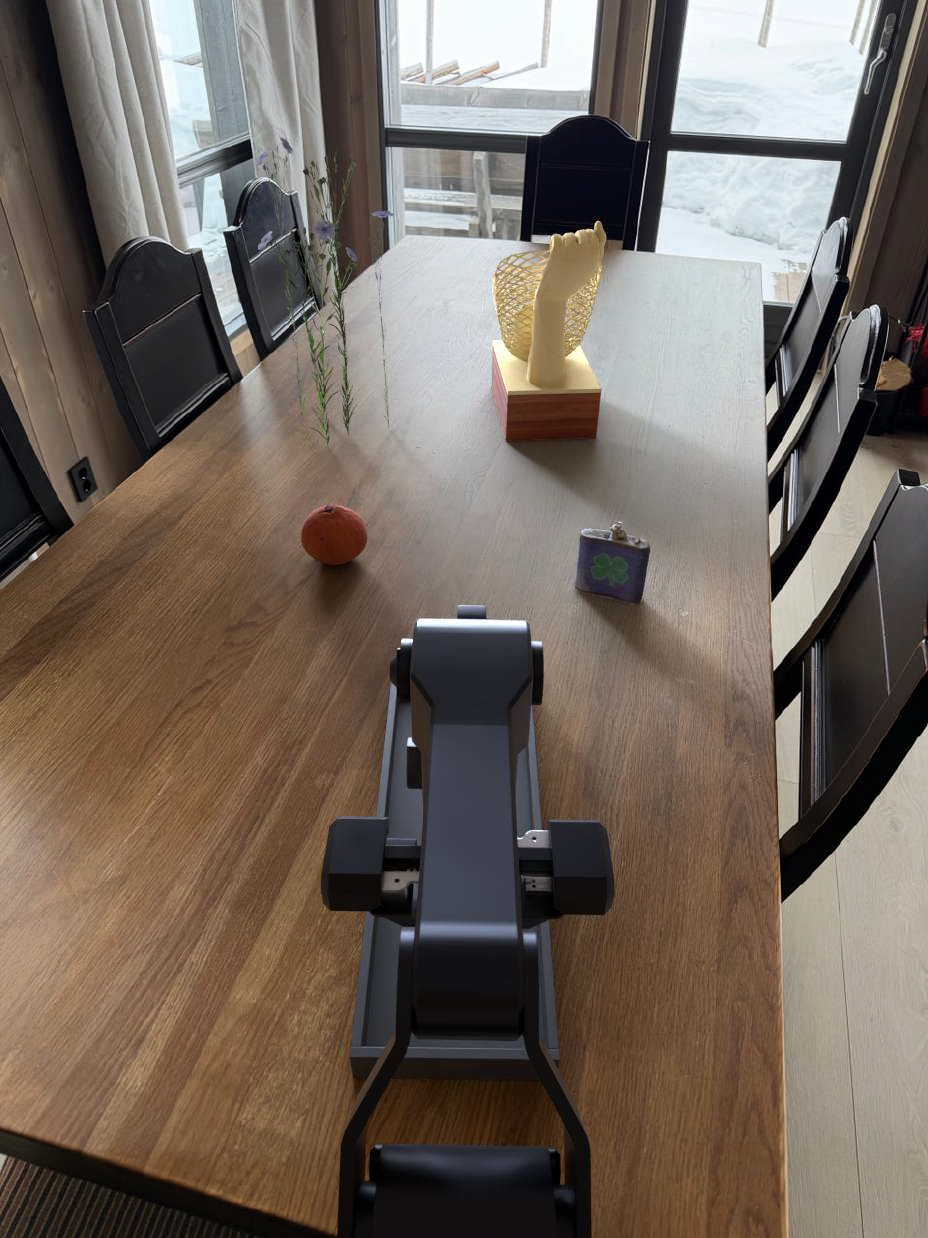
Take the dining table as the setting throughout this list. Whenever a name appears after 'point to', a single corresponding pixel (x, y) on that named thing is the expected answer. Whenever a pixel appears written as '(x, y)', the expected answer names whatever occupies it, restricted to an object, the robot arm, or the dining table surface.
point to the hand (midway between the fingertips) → (466, 934)
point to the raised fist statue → (548, 342)
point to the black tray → (384, 935)
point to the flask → (612, 564)
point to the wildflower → (326, 235)
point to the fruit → (333, 534)
